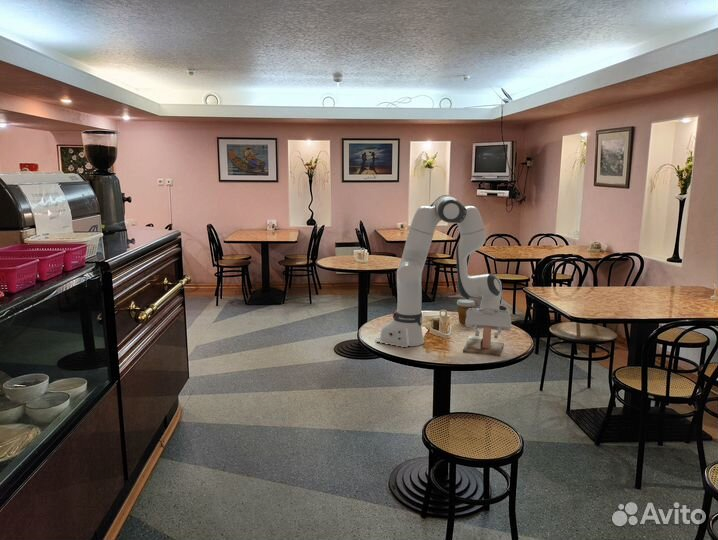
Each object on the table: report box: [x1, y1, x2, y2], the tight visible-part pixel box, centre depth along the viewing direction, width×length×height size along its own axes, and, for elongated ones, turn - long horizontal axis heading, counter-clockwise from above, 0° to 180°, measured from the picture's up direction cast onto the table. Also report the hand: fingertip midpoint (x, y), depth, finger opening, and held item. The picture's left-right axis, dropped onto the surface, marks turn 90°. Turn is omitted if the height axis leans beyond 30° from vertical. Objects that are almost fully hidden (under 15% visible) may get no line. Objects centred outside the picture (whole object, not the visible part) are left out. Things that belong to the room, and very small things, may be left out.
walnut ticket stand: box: [462, 335, 504, 357], centre depth 229 cm, size 16×16×4 cm
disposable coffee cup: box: [456, 298, 476, 325], centre depth 268 cm, size 10×10×12 cm
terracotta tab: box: [482, 327, 492, 348], centre depth 228 cm, size 3×5×8 cm, turn 160°
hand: (486, 336), depth 228 cm, fingers open, 7 cm apart
